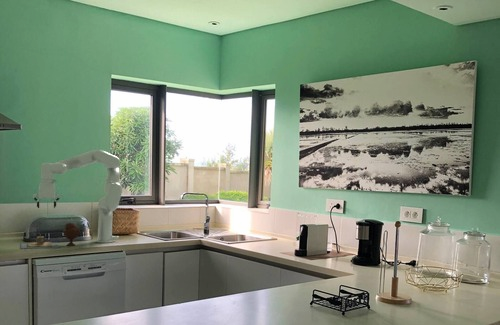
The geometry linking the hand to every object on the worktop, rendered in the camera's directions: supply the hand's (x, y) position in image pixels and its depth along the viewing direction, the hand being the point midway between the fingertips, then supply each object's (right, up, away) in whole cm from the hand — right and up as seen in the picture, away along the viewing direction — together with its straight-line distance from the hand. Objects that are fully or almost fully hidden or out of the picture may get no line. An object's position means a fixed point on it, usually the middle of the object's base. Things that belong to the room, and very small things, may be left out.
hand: (46, 207), depth 326 cm
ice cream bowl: (+15, -25, +3) cm, 29 cm away
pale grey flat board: (-2, -24, -5) cm, 25 cm away
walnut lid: (-2, -24, -5) cm, 24 cm away
